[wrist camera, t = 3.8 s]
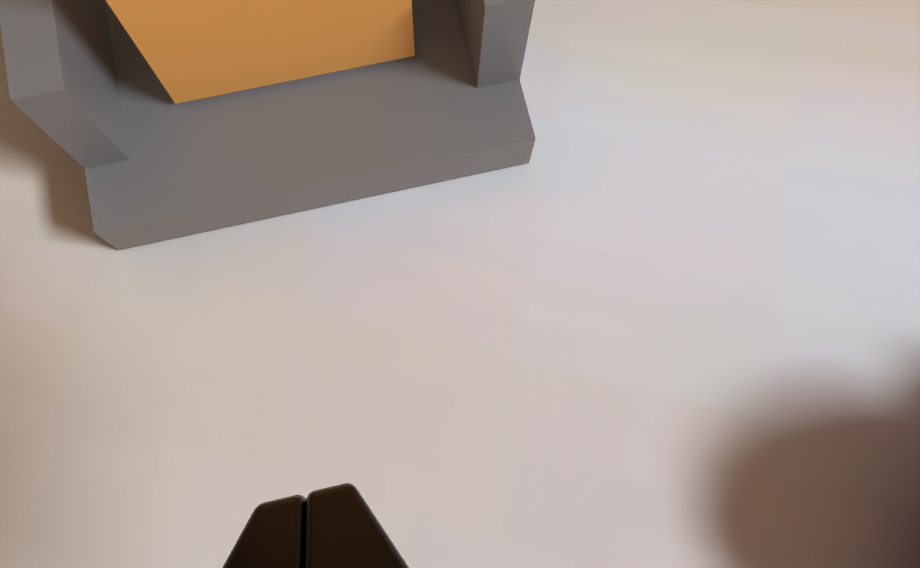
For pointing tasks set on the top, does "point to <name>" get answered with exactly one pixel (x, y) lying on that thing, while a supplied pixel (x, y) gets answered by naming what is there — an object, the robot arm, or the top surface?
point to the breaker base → (267, 119)
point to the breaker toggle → (261, 40)
